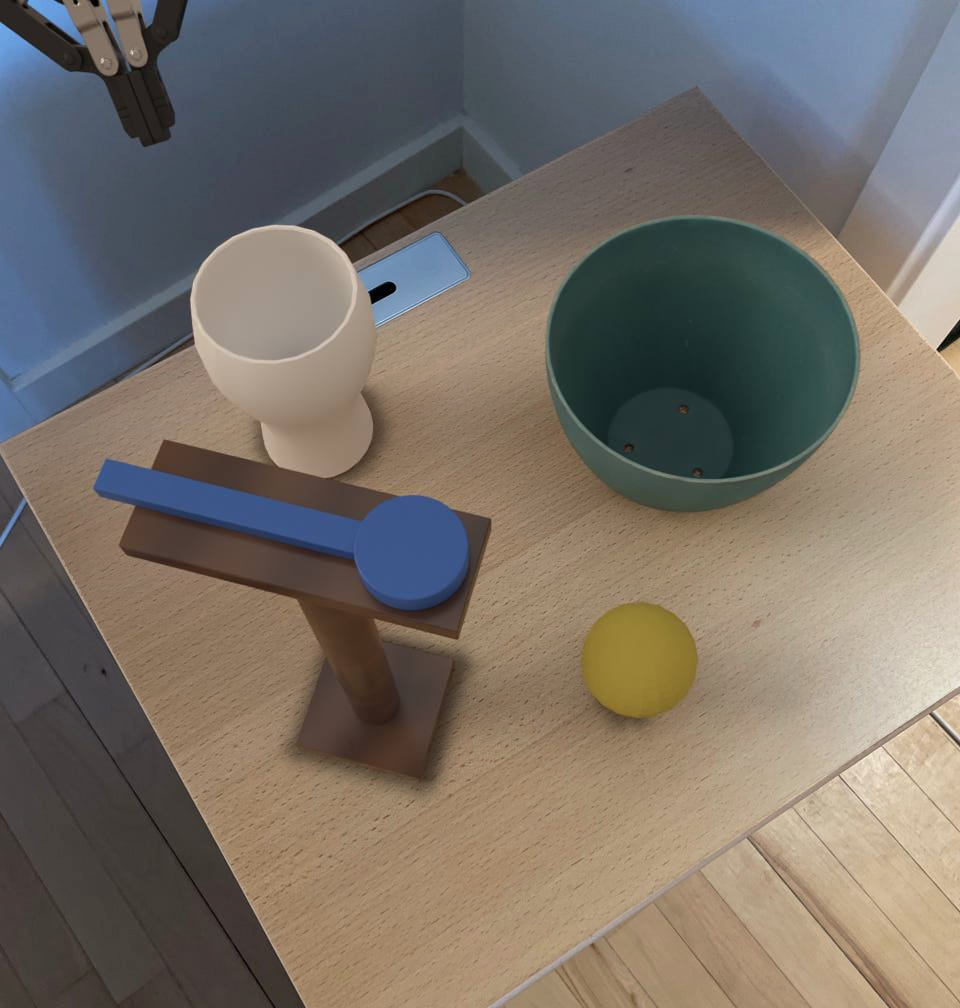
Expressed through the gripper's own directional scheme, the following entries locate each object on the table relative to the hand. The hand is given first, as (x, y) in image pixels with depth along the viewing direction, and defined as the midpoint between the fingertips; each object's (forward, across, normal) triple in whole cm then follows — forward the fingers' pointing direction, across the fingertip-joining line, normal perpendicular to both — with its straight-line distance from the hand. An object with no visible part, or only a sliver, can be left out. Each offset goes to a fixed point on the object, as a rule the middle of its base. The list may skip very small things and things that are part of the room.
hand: (158, 141), depth 59 cm
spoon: (+12, +6, -30) cm, 33 cm away
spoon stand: (+32, +3, -14) cm, 36 cm away
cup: (+20, +3, +2) cm, 21 cm away
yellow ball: (+36, +18, -16) cm, 43 cm away
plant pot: (+27, +26, -2) cm, 37 cm away
